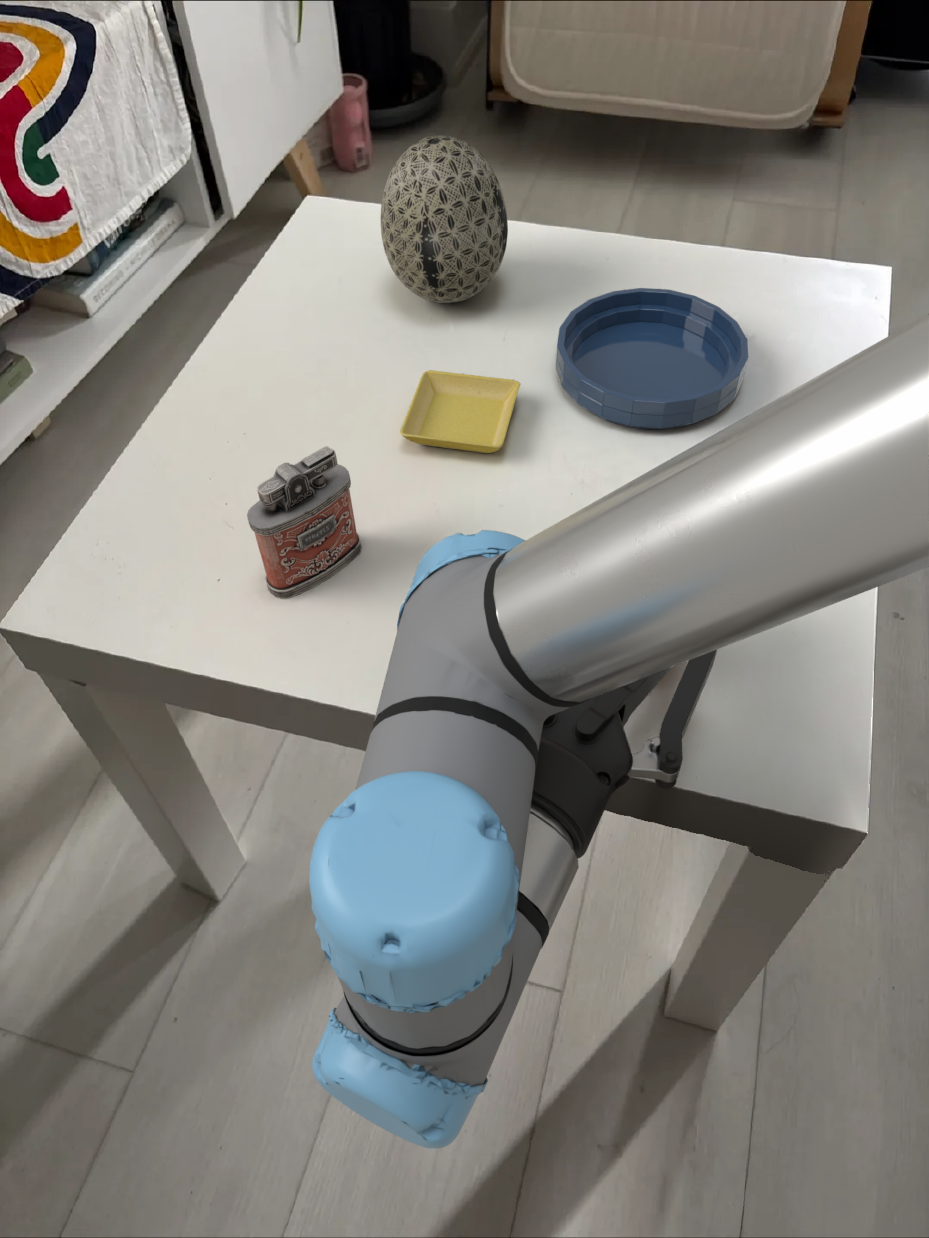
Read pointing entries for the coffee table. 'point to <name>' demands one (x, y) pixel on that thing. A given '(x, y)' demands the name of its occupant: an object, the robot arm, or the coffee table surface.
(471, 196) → the decorative egg
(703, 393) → the dish
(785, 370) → the coffee table surface
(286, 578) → the lighter
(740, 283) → the coffee table surface
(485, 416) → the saucer
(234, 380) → the coffee table surface
